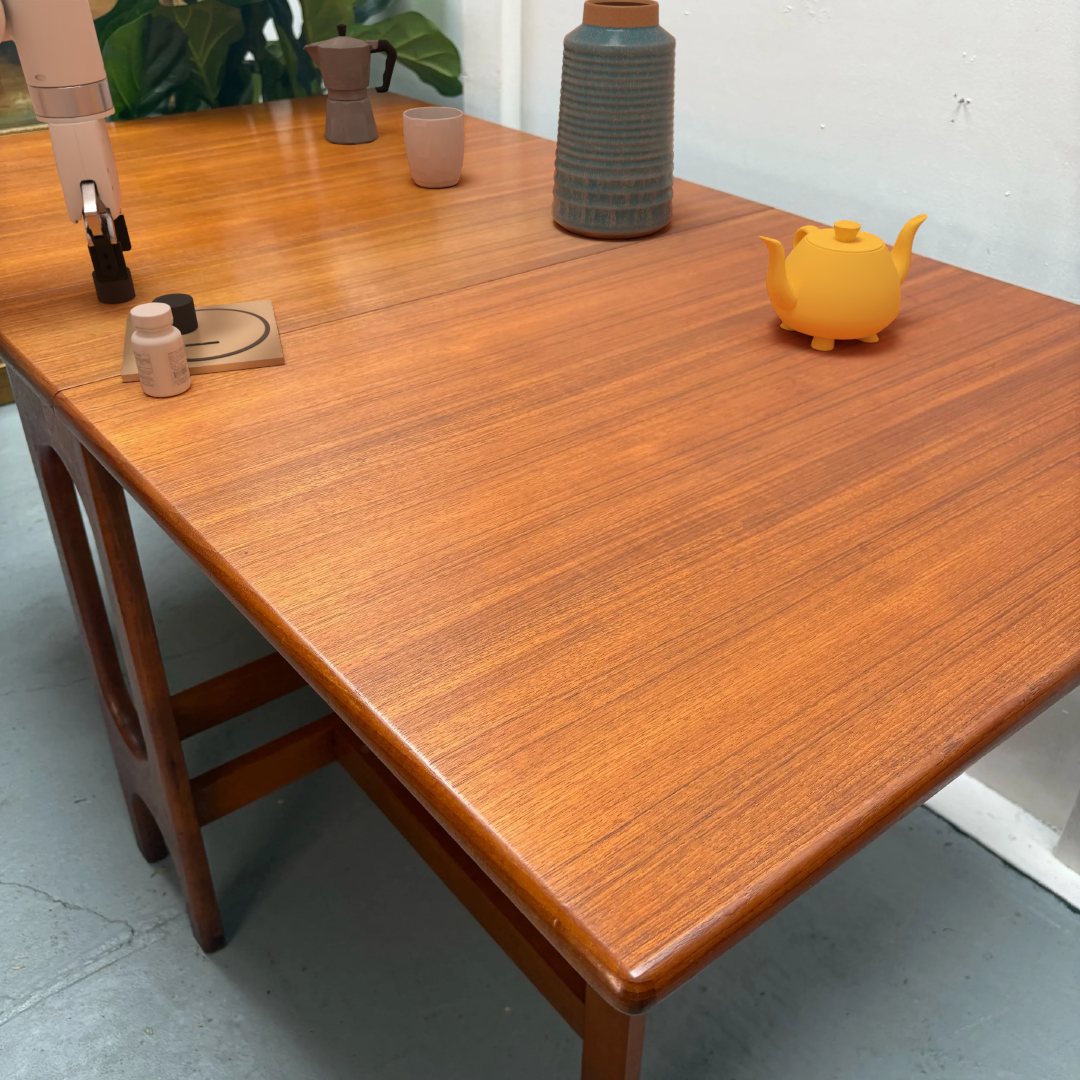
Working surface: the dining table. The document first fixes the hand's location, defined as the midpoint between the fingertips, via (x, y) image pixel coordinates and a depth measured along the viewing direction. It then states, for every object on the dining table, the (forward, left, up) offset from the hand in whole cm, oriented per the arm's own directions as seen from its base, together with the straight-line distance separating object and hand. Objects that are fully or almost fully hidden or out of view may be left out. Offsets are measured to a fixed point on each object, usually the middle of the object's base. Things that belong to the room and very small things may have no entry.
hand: (115, 265), depth 112 cm
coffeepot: (+36, +69, -4) cm, 78 cm away
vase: (+62, +11, -4) cm, 63 cm away
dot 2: (+6, -14, -3) cm, 15 cm away
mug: (+43, +39, -4) cm, 58 cm away
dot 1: (-1, 0, -4) cm, 4 cm away
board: (+8, -16, -4) cm, 18 cm away
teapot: (+71, -30, -4) cm, 78 cm away
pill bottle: (+5, -26, -4) cm, 27 cm away
